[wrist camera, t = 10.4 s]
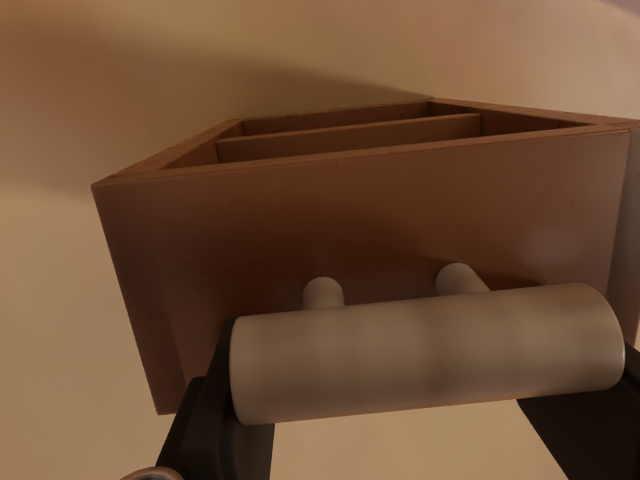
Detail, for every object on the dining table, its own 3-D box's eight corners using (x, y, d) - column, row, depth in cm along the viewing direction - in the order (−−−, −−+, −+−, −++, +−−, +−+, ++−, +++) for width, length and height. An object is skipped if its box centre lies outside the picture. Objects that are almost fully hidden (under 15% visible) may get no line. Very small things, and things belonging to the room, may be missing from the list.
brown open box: (226, 120, 24) (-41, 243, 5) (441, 97, 24) (899, 147, 5) (244, 222, 26) (93, 557, 8) (441, 202, 26) (770, 491, 7)
